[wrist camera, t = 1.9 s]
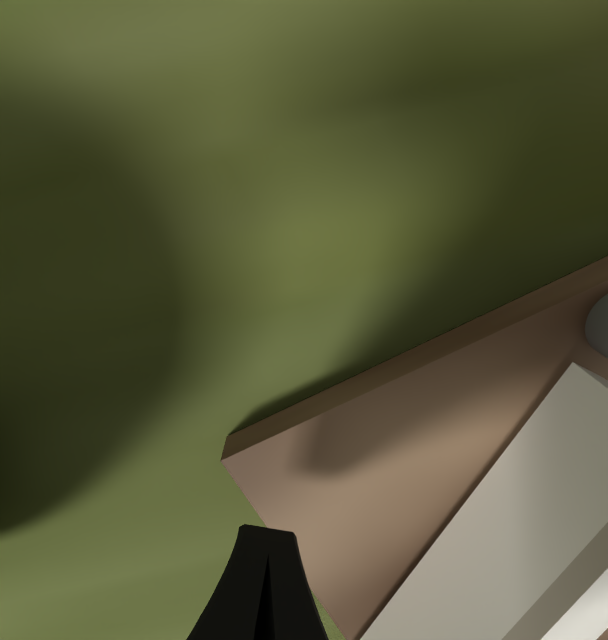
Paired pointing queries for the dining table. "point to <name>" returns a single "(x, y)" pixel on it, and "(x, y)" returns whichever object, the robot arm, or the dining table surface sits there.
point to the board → (408, 443)
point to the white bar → (524, 531)
